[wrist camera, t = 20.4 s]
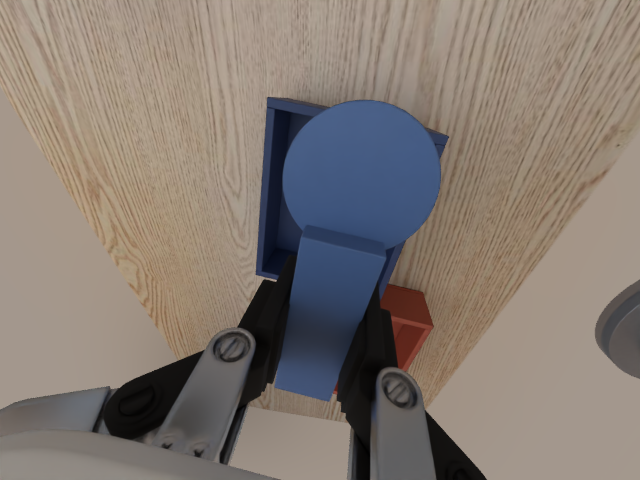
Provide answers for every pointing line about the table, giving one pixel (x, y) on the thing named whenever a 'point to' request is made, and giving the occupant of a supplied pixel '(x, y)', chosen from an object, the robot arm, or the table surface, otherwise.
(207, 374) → the robot arm
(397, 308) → the red bin
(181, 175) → the table surface
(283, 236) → the blue bin
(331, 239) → the blue spoon
